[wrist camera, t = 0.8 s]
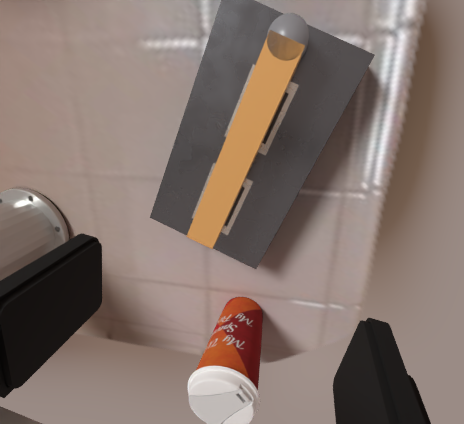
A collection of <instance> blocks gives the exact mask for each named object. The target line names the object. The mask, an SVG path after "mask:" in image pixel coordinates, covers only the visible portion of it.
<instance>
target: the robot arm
mask: <svg viewBox="0 0 464 424" xmlns="http://www.w3.org/2000/svg"><path fill="white" fill-rule="evenodd" d="M101 303H102V246H101V243H99V241H98V239H97V238H96V237H92V236H89V235H85V234H79V235H77V236H75V237H74V238H72V239H70V240H69V234H68V229H67V226H66V223H65V221H64V219H63V217H62V215H61V213H60V212H59V211H58V209H57V208H56V207H55V206H54V205H53V204H52V203H51V202H50V201H49V200H48V199H47V198H45V197H44V196H43V195H41V194H39V193H37V192H36V191H33V190H30V189H27V188H12V189H8V190H5V191H3V192H1V193H0V397H3V398H5V397H6V396H7V395H8V394H9V393H10V392H11V391H12V390H13V389H14V388H19V387H20V386H22V385H23V384H24V383H25V382H26V381H27V380H28V379H29V378H30V377H31V376H32V375H33V374H34V373H35V372H36V371H37V370H38V369H39V368H40V367H41V366H42V365H43V364H44V363H45V362H46V361H47V360H48V359H49V358H50V357H51V356H52V355H53V354H54V353H55V352H56V351H57V350H58V349H59V348H60V347H61V346H62V345H63V344H64V343H65V342H66V341H67V340H68V339H69V338H70V337H71V336H72V335H73V334H74V333H75V332H76V331H77V330H78V329H79V328H80V327H81V326H82V325H83V324H84V323H85V322H86V321H87V320H88V319H89V318H90V317H91V316H92V315H93V314H94V313H95V312H96V311H97V310H98V309H99V307H100V305H101ZM333 393H334V403H335V404H334V405H335V416H336V424H431V423H430V420H429V417H428V415H427V412H426V409H425V407H424V404H423V402H422V399H421V396H420V394H419V391H418V388H417V386H416V383H415V381H414V380H413V378H411V376H410V375H408V374H407V371H406V369H405V366H404V363H403V360H402V358H401V355H400V352H399V349H398V347H397V344H396V341H395V339H394V336H393V333H392V330H391V328H390V326H389V324H388V323H386V322H382V321H379V320H375V319H372V318H368V319H367V320H366V321H360V322H359V324H358V326H357V329H356V331H355V333H354V335H353V338H352V340H351V342H350V344H349V346H348V348H347V351H346V353H345V355H344V357H343V359H342V362H341V364H340V366H339V369H338V370H337V373H336V375H335V377H334V383H333ZM0 424H42V423H39V422H37V421H34V420H32V419H30V418H27V417H25V416H22V415H20V414H17V413H15V412H12V411H10V410H8V409H5V408H3V407H0Z"/></svg>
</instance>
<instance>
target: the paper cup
mask: <svg viewBox="0 0 464 424" xmlns="http://www.w3.org/2000/svg"><path fill="white" fill-rule="evenodd" d="M262 322H263V314H262V310H261V308H260V306H259V305H258V304H257V303H256V302H255V301H253V300H251V299H249V298H246V297H236V298H233V299H231V300H230V301H229V302H228V303H227V304H226V306H225V308H224V310H223V312H222V314H221V316H220V318H219V320H218V323H217V325H216V327H215V329H214V331H213V334H212V336H211V338H210V340H209V343H208V345H207V347H206V349H205V351H204V354H203V356H202V358H201V360H200V363H199V365H198V367H197V369H196V371H195V372H194V373H193V374H192V375H191V376H190V378H189V380H188V394H189V404H190V407H191V409H192V410H193V412H194V413H195V414H196V415H197V416H198V417H199V418H200V419H201V420H202V421H204V422H206V423H207V424H248V423H249V422H250V421H251V420H252V418H253V415H254V414H255V413H256V412H257V410H258V408H259V405H260V396H259V393H258V380H259V366H260V353H261V339H262Z"/></svg>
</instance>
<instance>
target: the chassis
mask: <svg viewBox="0 0 464 424" xmlns="http://www.w3.org/2000/svg"><path fill="white" fill-rule="evenodd" d="M281 15H283V13H281V12H278V11H276V10H274V9H272V8H270V7H267V6H265V5H263V4H261V3H258V2H256V1H254V0H222V1H221V4H220V7H219V10H218V13H217V16H216V19H215V22H214V25H213V28H212V31H211V34H210V37H209V40H208V43H207V46H206V49H205V52H204V55H203V58H202V61H201V64H200V67H199V70H198V73H197V76H196V79H195V82H194V85H193V88H192V91H191V94H190V98H189V101H188V104H187V107H186V110H185V113H184V116H183V119H182V122H181V125H180V128H179V131H178V134H177V137H176V140H175V143H174V146H173V149H172V152H171V155H170V158H169V161H168V164H167V167H166V170H165V173H164V176H163V179H162V182H161V185H160V188H159V191H158V195H157V198H156V201H155V204H154V207H153V210H152V213H151V216H150V218H152V219H154V220H156V221H158V222H160V223H162V224H164V225H167V226H169V227H171V228H173V229H175V230H177V231H179V232H181V233H183V234H185V235H187V234H188V231H189V229H190V226H191V224H192V222H193V219H194V217H195V214H196V212H197V209H198V207H199V204H200V202H201V199H202V197H203V194H204V192H205V189H206V187H207V184H208V182H209V179H210V177H211V174H212V172H213V169H214V167H215V165H216V162H217V160H218V157H219V155H220V152H221V150H222V147H223V145H224V142H225V140H226V137H227V135H228V132H229V130H230V127H231V125H232V122H233V120H234V117H235V115H236V112H237V110H238V108H239V105H240V103H241V100H242V98H243V95H244V93H245V90H246V88H247V85H248V83H249V80H250V78H251V75H252V73H253V70H254V68H255V65H256V63H257V60H258V58H259V55H260V53H261V50H262V48H263V46H264V43H265V41H266V38H267V33H268V30H269V27H270V26H271V24H272V23H273V21H274V20H275V19H276V18H278V17H279V16H281ZM307 26H308V29H309V40H308V45H307V49H306V51H305V53H304V55H303V56H302V58H301V60H300V62H299V64H298V66H297V68H296V70H295V73H294V75H293V77H292V79H291V81H290V83H289V86H288V88H287V90H286V92H285V94H284V97H283V99H282V101H281V103H280V105H279V107H278V110H277V112H276V114H275V116H274V118H273V120H272V123H271V125H270V127H269V129H268V131H267V134H266V136H265V138H264V140H263V142H262V144H261V147H260V149H259V151H258V153H257V155H256V157H255V160H254V162H253V164H252V166H251V168H250V170H249V173H248V175H247V177H246V179H245V181H244V184H243V186H242V188H241V190H240V192H239V194H238V197H237V199H236V201H235V203H234V205H233V207H232V210H231V212H230V214H229V216H228V218H227V221H226V223H225V225H224V227H223V229H222V231H221V234H220V236H219V238H218V240H217V242H216V243H215V245H214V247H213V248H214V249H216V250H218V251H220V252H222V253H224V254H226V255H228V256H230V257H232V258H234V259H236V260H238V261H240V262H242V263H244V264H246V265H248V266H250V267H253V268H255V269H256V268H257V267H258V265H259V263H260V261H261V259H262V258H263V256H264V254H265V252H266V250H267V249H268V247H269V245H270V243H271V241H272V240H273V238H274V236H275V234H276V232H277V230H278V229H279V227H280V225H281V223H282V221H283V220H284V218H285V216H286V214H287V212H288V211H289V209H290V207H291V205H292V203H293V202H294V200H295V198H296V196H297V194H298V193H299V191H300V189H301V187H302V185H303V184H304V182H305V180H306V178H307V176H308V175H309V173H310V171H311V169H312V167H313V166H314V164H315V162H316V160H317V158H318V157H319V155H320V153H321V151H322V149H323V147H324V146H325V144H326V142H327V140H328V138H329V137H330V135H331V133H332V131H333V129H334V128H335V126H336V124H337V122H338V120H339V119H340V117H341V115H342V113H343V111H344V110H345V108H346V106H347V104H348V102H349V101H350V99H351V97H352V95H353V93H354V92H355V90H356V88H357V86H358V84H359V83H360V81H361V79H362V77H363V75H364V74H365V72H366V70H367V68H368V66H369V65H370V63H371V61H372V59H373V57H374V54H372V53H369V52H367V51H365V50H363V49H361V48H358V47H356V46H354V45H352V44H349V43H347V42H345V41H343V40H341V39H338V38H336V37H334V36H332V35H329V34H327V33H325V32H323V31H321V30H318V29H316V28H314V27H312V26H310V25H307Z"/></svg>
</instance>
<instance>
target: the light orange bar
mask: <svg viewBox="0 0 464 424" xmlns="http://www.w3.org/2000/svg"><path fill="white" fill-rule="evenodd" d="M308 40H309V29H308V26H307V24H306V22H305V20H304V19H303V18H302V17H301V16H299V15H297V14H294V13H286V14H283V15H281V16H279V17H278V18H276V19H275V20H274V21H273V23H272V24H271V26H270V27H269V30H268V33H267V38H266V41H265V43H264V46H263V48H262V50H261V53H260V55H259V58H258V60H257V63H256V65H255V68H254V70H253V73H252V75H251V78H250V80H249V83H248V85H247V88H246V90H245V93H244V95H243V98H242V100H241V103H240V105H239V108H238V110H237V112H236V115H235V117H234V120H233V122H232V125H231V127H230V130H229V132H228V135H227V137H226V140H225V142H224V145H223V147H222V150H221V152H220V155H219V157H218V160H217V162H216V165H215V167H214V169H213V172H212V174H211V177H210V179H209V182H208V184H207V187H206V189H205V192H204V194H203V197H202V199H201V202H200V204H199V207H198V209H197V212H196V214H195V217H194V219H193V222H192V224H191V226H190V229H189V231H188V234H187V236H186V237H188V238H190V239H192V240H195V241H197V242H199V243H201V244H203V245H205V246H207V247H209V248H211V249H213V247H214V245H215V243H216V242H217V240H218V238H219V236H220V234H221V231H222V229H223V227H224V225H225V223H226V221H227V218H228V216H229V214H230V212H231V210H232V207H233V205H234V203H235V201H236V199H237V197H238V194H239V192H240V190H241V188H242V186H243V184H244V181H245V179H246V177H247V175H248V173H249V170H250V168H251V166H252V164H253V162H254V160H255V157H256V155H257V153H258V151H259V149H260V147H261V144H262V142H263V140H264V138H265V136H266V134H267V131H268V129H269V127H270V125H271V123H272V120H273V118H274V116H275V114H276V112H277V110H278V107H279V105H280V103H281V101H282V99H283V97H284V94H285V92H286V90H287V88H288V86H289V83H290V81H291V79H292V77H293V75H294V73H295V70H296V68H297V66H298V64H299V62H300V60H301V58H302V56H303V55H304V53H305V51H306V49H307V45H308Z"/></svg>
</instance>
